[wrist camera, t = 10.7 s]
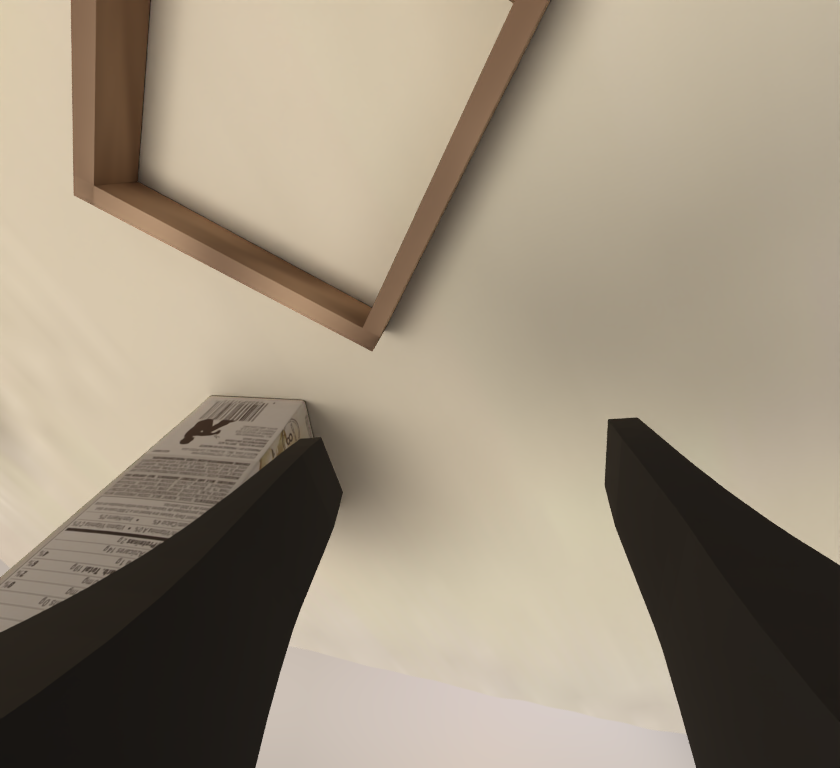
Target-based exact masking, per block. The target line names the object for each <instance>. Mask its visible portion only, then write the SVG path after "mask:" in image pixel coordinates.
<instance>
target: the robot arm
mask: <svg viewBox="0 0 840 768" xmlns="http://www.w3.org/2000/svg"><path fill="white" fill-rule="evenodd" d="M605 488H606V492H607V496H608V500H609V504H610V508H611V512H612V516H613V520H614V523H615V527H616V529H617V532H618V535H619V537H620V540H621V542H622V545H623V548H624V550H625V553H626V555H627V558H628V561H629V563H630V566H631V568H632V571H633V573H634V576H635V578H636V581H637V583H638V586H639V589H640V591H641V594H642V596H643V599H644V601H645V604H646V606H647V609H648V611H649V614H650V617H651V619H652V622H653V624H654V627H655V630H656V633H657V635H658V638H659V641H660V644H661V647H662V650H663V653H664V656H665V660H666V663H667V667H668V670H669V673H670V677H671V680H672V684H673V687H674V691H675V694H676V697H677V701H678V704H679V708H680V711H681V715H682V718H683V722H684V726H685V729H686V733H687V736H688V740H689V744H690V747H691V751H692V754H693V758H694V761H695V765H696V768H840V565H838V564H837V563H835V562H834V561H832V560H830V559H829V558H827V557H826V556H824V555H822V554H821V553H819V552H818V551H816V550H814V549H813V548H811V547H810V546H808V545H806V544H805V543H803V542H802V541H800V540H798V539H797V538H795V537H794V536H792V535H791V534H789V533H788V532H786V531H785V530H783V529H781V528H780V527H778V526H777V525H775V524H774V523H772V522H771V521H770V520H768V519H767V518H765V517H764V516H762V515H761V514H760V513H758V512H757V511H755V510H754V509H752V508H751V507H750V506H748V505H747V504H745V503H744V502H743V501H741V500H740V499H738V498H737V497H735V496H734V495H733V494H731V493H730V492H729V491H727V490H726V489H725V488H723V487H722V486H721V485H719V484H718V483H717V482H716V481H714V480H713V479H712V478H710V477H709V476H708V475H707V474H705V473H704V472H703V471H701V470H700V469H699V468H698V467H696V466H695V465H694V464H693V463H691V462H690V461H689V460H688V459H686V458H685V457H684V456H683V455H682V454H680V453H679V452H678V451H677V450H676V449H674V448H673V447H672V446H671V445H670V444H668V443H667V442H666V441H665V440H664V439H662V438H661V437H660V436H659V435H658V434H657V433H655V432H654V431H653V430H652V429H651V428H649V427H648V426H647V425H646V424H645V423H643V422H642V421H641V420H640V419H639V418H623V419H608V431H607V450H606V469H605ZM342 493H343V491H342V489H341V486H340V484H339V481H338V479H337V476H336V474H335V471H334V469H333V466H332V464H331V461H330V459H329V456H328V454H327V451H326V449H325V446H324V444H323V441H322V439H321V437H318V438H302V439H299V440H298V441H297V442H295V443H294V444H292V445H291V446H290V447H288V448H287V449H286V450H284V451H283V452H282V453H280V454H279V455H278V456H277V457H275V458H274V459H273V460H272V461H270V462H269V463H268V464H267V465H265V466H264V467H263V468H262V469H260V470H259V471H258V472H257V473H255V474H254V475H253V476H252V477H250V478H249V479H248V480H247V481H245V482H244V483H243V484H242V485H241V486H239V487H238V488H237V489H236V490H234V491H233V492H232V493H230V494H229V495H228V496H226V497H225V498H224V499H222V500H221V501H220V502H218V503H217V504H216V505H214V506H213V507H212V508H210V509H209V510H208V511H206V512H205V513H204V514H202V515H201V516H200V517H198V518H197V519H196V520H194V521H193V522H192V523H190V524H189V525H187V526H186V527H185V528H183V529H182V530H180V531H179V532H177V533H176V534H174V535H173V536H171V537H170V538H168V539H167V540H165V541H164V542H162V543H161V544H159V545H158V546H156V547H155V548H153V549H152V550H150V551H148V552H147V553H145V554H144V555H142V556H140V557H139V558H137V559H136V560H134V561H132V562H130V563H129V564H127V565H125V566H124V567H122V568H120V569H118V570H117V571H115V572H113V573H112V574H110V575H108V576H107V577H105V578H103V579H101V580H100V581H98V582H96V583H95V584H93V585H91V586H89V587H88V588H86V589H84V590H82V591H80V592H78V593H77V594H75V595H73V596H71V597H69V598H67V599H65V600H63V601H62V602H60V603H58V604H56V605H54V606H52V607H50V608H48V609H46V610H44V611H42V612H40V613H38V614H36V615H34V616H32V617H30V618H28V619H26V620H24V621H22V622H20V623H18V624H16V625H14V626H12V627H10V628H8V629H6V630H4V631H2V632H0V768H255V767H256V763H257V759H258V754H259V751H260V746H261V742H262V738H263V734H264V730H265V726H266V722H267V718H268V714H269V710H270V707H271V703H272V700H273V696H274V692H275V689H276V685H277V682H278V678H279V674H280V671H281V668H282V664H283V661H284V658H285V654H286V651H287V648H288V645H289V641H290V638H291V635H292V631H293V628H294V626H295V623H296V620H297V617H298V615H299V612H300V609H301V607H302V604H303V602H304V599H305V597H306V595H307V592H308V590H309V587H310V585H311V582H312V580H313V577H314V575H315V573H316V570H317V568H318V565H319V563H320V560H321V558H322V556H323V553H324V551H325V548H326V546H327V543H328V541H329V538H330V536H331V533H332V530H333V528H334V524H335V521H336V517H337V514H338V510H339V506H340V501H341V497H342Z"/></svg>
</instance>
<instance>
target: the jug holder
mask: <svg viewBox="0 0 840 768" xmlns="http://www.w3.org/2000/svg"><path fill="white" fill-rule="evenodd" d="M510 1H511V2H513V6H512V8H511V10H510V12H509V14H508V16H507V18H506V21H505V23H504V25H503V27H502V29H501V31H500V34H499V36H498V38H497V40H496V42H495V44H494V46H493V49H492V51H491V53H490V55H489V57H488V59H487V61H486V64H485V66H484V68H483V70H482V72H481V74H480V77H479V79H478V81H477V83H476V85H475V87H474V89H473V92H472V94H471V96H470V98H469V100H468V102H467V105H466V107H465V109H464V111H463V113H462V115H461V117H460V120H459V122H458V124H457V126H456V128H455V130H454V133H453V135H452V137H451V139H450V141H449V143H448V145H447V148H446V150H445V152H444V154H443V156H442V158H441V160H440V163H439V165H438V167H437V169H436V171H435V173H434V176H433V178H432V180H431V182H430V184H429V186H428V188H427V191H426V193H425V195H424V197H423V199H422V201H421V204H420V206H419V208H418V210H417V212H416V214H415V216H414V219H413V221H412V223H411V225H410V227H409V229H408V231H407V234H406V236H405V238H404V240H403V242H402V244H401V247H400V249H399V251H398V253H397V255H396V257H395V259H394V262H393V264H392V266H391V268H390V270H389V272H388V275H387V277H386V279H385V281H384V283H383V285H382V287H381V290H380V292H379V294H378V296H377V298H376V300H375V302H374V305H373V307H372V308H371V307H369V306H368V305H366V304H364V303H362V302H360V301H358V300H356V299H355V298H353V297H351V296H349V295H347V294H345V293H343V292H342V291H340V290H338V289H336V288H334V287H332V286H330V285H329V284H327V283H325V282H323V281H321V280H319V279H317V278H316V277H314V276H312V275H310V274H308V273H306V272H304V271H303V270H301V269H299V268H297V267H295V266H293V265H291V264H290V263H288V262H286V261H284V260H282V259H280V258H278V257H277V256H275V255H273V254H271V253H269V252H267V251H265V250H264V249H262V248H260V247H258V246H256V245H254V244H252V243H251V242H249V241H247V240H245V239H243V238H241V237H239V236H238V235H236V234H234V233H232V232H230V231H228V230H226V229H225V228H223V227H221V226H219V225H217V224H215V223H213V222H212V221H210V220H208V219H206V218H204V217H202V216H200V215H199V214H197V213H195V212H193V211H191V210H189V209H187V208H186V207H184V206H182V205H180V204H178V203H176V202H174V201H173V200H171V199H169V198H167V197H165V196H163V195H161V194H160V193H158V192H156V191H154V190H152V189H150V188H148V187H147V186H145V185H143V184H141V183H139V182H137V179H138V165H139V151H140V137H141V123H142V109H143V95H144V80H145V66H146V52H147V38H148V24H149V10H150V0H71V42H72V109H73V176H74V196H76V197H78V198H80V199H82V200H84V201H86V202H88V203H90V204H92V205H94V206H95V207H97V208H99V209H101V210H103V211H105V212H107V213H109V214H111V215H113V216H115V217H116V218H118V219H120V220H122V221H124V222H126V223H128V224H130V225H132V226H134V227H136V228H137V229H139V230H141V231H143V232H145V233H147V234H149V235H151V236H153V237H155V238H157V239H158V240H160V241H162V242H164V243H166V244H168V245H170V246H172V247H174V248H176V249H178V250H179V251H181V252H183V253H185V254H187V255H189V256H191V257H193V258H195V259H197V260H199V261H200V262H202V263H204V264H206V265H208V266H210V267H212V268H214V269H216V270H218V271H220V272H221V273H223V274H225V275H227V276H229V277H231V278H233V279H235V280H237V281H239V282H241V283H242V284H244V285H246V286H248V287H250V288H252V289H254V290H256V291H258V292H260V293H262V294H263V295H265V296H267V297H269V298H271V299H273V300H275V301H277V302H279V303H281V304H283V305H284V306H286V307H288V308H290V309H292V310H294V311H296V312H298V313H300V314H302V315H304V316H305V317H307V318H309V319H311V320H313V321H315V322H317V323H319V324H321V325H323V326H325V327H326V328H328V329H330V330H332V331H334V332H336V333H338V334H340V335H342V336H344V337H346V338H347V339H349V340H351V341H353V342H355V343H357V344H359V345H361V346H363V347H365V348H367V349H368V350H370V351H373V349H374V348H375V346H376V344H377V342H378V341H379V339H380V337H381V336H382V334H383V332H384V330H385V328H386V326H387V324H388V322H389V320H390V318H391V316H392V314H393V312H394V310H395V308H396V306H397V304H398V302H399V300H400V298H401V296H402V294H403V292H404V290H405V288H406V286H407V284H408V282H409V281H410V279H411V277H412V275H413V273H414V271H415V269H416V267H417V265H418V263H419V261H420V259H421V257H422V255H423V253H424V251H425V249H426V247H427V245H428V243H429V241H430V239H431V237H432V235H433V233H434V231H435V229H436V227H437V225H438V223H439V221H440V219H441V217H442V215H443V213H444V211H445V209H446V207H447V205H448V203H449V201H450V199H451V197H452V195H453V193H454V191H455V189H456V187H457V185H458V183H459V181H460V179H461V177H462V175H463V173H464V171H465V169H466V167H467V165H468V163H469V161H470V159H471V157H472V155H473V153H474V151H475V149H476V147H477V145H478V143H479V141H480V139H481V137H482V135H483V133H484V131H485V129H486V127H487V125H488V123H489V121H490V120H491V118H492V116H493V114H494V112H495V110H496V108H497V106H498V104H499V102H500V100H501V98H502V96H503V94H504V92H505V90H506V88H507V86H508V84H509V82H510V80H511V78H512V76H513V74H514V72H515V70H516V68H517V66H518V64H519V62H520V60H521V58H522V56H523V54H524V52H525V50H526V48H527V46H528V44H529V42H530V40H531V38H532V36H533V34H534V32H535V30H536V28H537V26H538V24H539V22H540V20H541V18H542V16H543V14H544V12H545V10H546V8H547V6H548V4H549V2H550V0H510Z"/></svg>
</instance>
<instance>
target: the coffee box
mask: <svg viewBox="0 0 840 768" xmlns="http://www.w3.org/2000/svg"><path fill="white" fill-rule="evenodd" d="M302 438H313V434H312V430H311V425H310V421H309V417H308V413H307V409H306V404H305V402H304V401H302V400H284V399H265V398H246V397H226V396H210V397H208V398H207V399H206V400H205V401H204V402H203V403H202V404H201V405H200V406H199V407H198V408H197V409H195V410H194V411H193V412H192V413H191V414H190V415H188V416H187V417H186V418H185V419H184V420H182V421H181V422H180V423H179V424H178V425H177V426H176V427H174V428H173V429H172V430H171V431H170V432H169V433H167V434H166V435H165V436H164V437H163V438H162V439H160V440H159V441H158V442H157V443H156V444H155V445H154V446H153V447H151V448H150V449H149V450H148V451H147V452H146V453H145V454H143V455H142V456H141V457H140V458H139V459H138V460H137V461H135V462H134V463H133V464H132V465H131V466H130V467H128V468H127V469H126V470H125V471H124V472H123V473H121V474H120V475H119V476H118V477H117V478H116V479H114V480H113V481H112V482H111V483H110V484H109V485H107V486H106V487H105V488H104V489H103V490H101V491H100V492H99V493H98V494H97V495H96V496H94V497H93V498H92V499H91V500H90V501H89V502H88V503H86V504H85V505H84V506H83V507H82V508H81V509H79V510H78V511H77V512H76V513H75V514H74V515H72V516H71V517H70V518H69V519H68V520H67V521H65V522H64V523H63V524H62V525H61V526H60V527H58V528H57V529H56V530H55V531H54V532H53V533H52V534H50V535H49V536H48V537H47V538H46V539H45V540H43V541H42V542H41V543H40V544H39V545H38V546H36V547H35V548H34V549H33V550H32V551H31V552H29V553H28V554H27V555H26V556H25V557H24V558H22V559H21V560H20V561H19V562H18V563H17V564H15V565H14V566H13V567H12V568H11V569H10V570H8V571H7V572H6V573H5V574H4V575H3V576H1V577H0V632H2V631H4V630H6V629H8V628H10V627H12V626H14V625H16V624H18V623H20V622H22V621H24V620H26V619H28V618H30V617H32V616H34V615H36V614H38V613H40V612H42V611H44V610H46V609H48V608H50V607H52V606H54V605H56V604H58V603H60V602H62V601H63V600H65V599H67V598H69V597H71V596H73V595H75V594H77V593H78V592H80V591H82V590H84V589H86V588H88V587H89V586H91V585H93V584H95V583H96V582H98V581H100V580H101V579H103V578H105V577H107V576H108V575H110V574H112V573H113V572H115V571H117V570H118V569H120V568H122V567H124V566H125V565H127V564H129V563H130V562H132V561H134V560H136V559H137V558H139V557H140V556H142V555H144V554H145V553H147V552H148V551H150V550H152V549H153V548H155V547H156V546H158V545H159V544H161V543H162V542H164V541H165V540H167V539H168V538H170V537H171V536H173V535H174V534H176V533H177V532H179V531H180V530H182V529H183V528H185V527H186V526H187V525H189V524H190V523H192V522H193V521H194V520H196V519H197V518H198V517H200V516H201V515H202V514H204V513H205V512H206V511H208V510H209V509H210V508H212V507H213V506H214V505H216V504H217V503H218V502H220V501H221V500H222V499H224V498H225V497H226V496H228V495H229V494H230V493H232V492H233V491H234V490H236V489H237V488H238V487H239V486H241V485H242V484H243V483H244V482H245V481H247V480H248V479H249V478H250V477H252V476H253V475H254V474H255V473H257V472H258V471H259V470H260V469H262V468H263V467H264V466H265V465H267V464H268V463H269V462H270V461H272V460H273V459H274V458H275V457H277V456H278V455H279V454H280V453H282V452H283V451H284V450H286V449H287V448H288V447H290V446H291V445H292V444H294V443H295V442H297V441H298V440H299V439H302Z"/></svg>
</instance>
